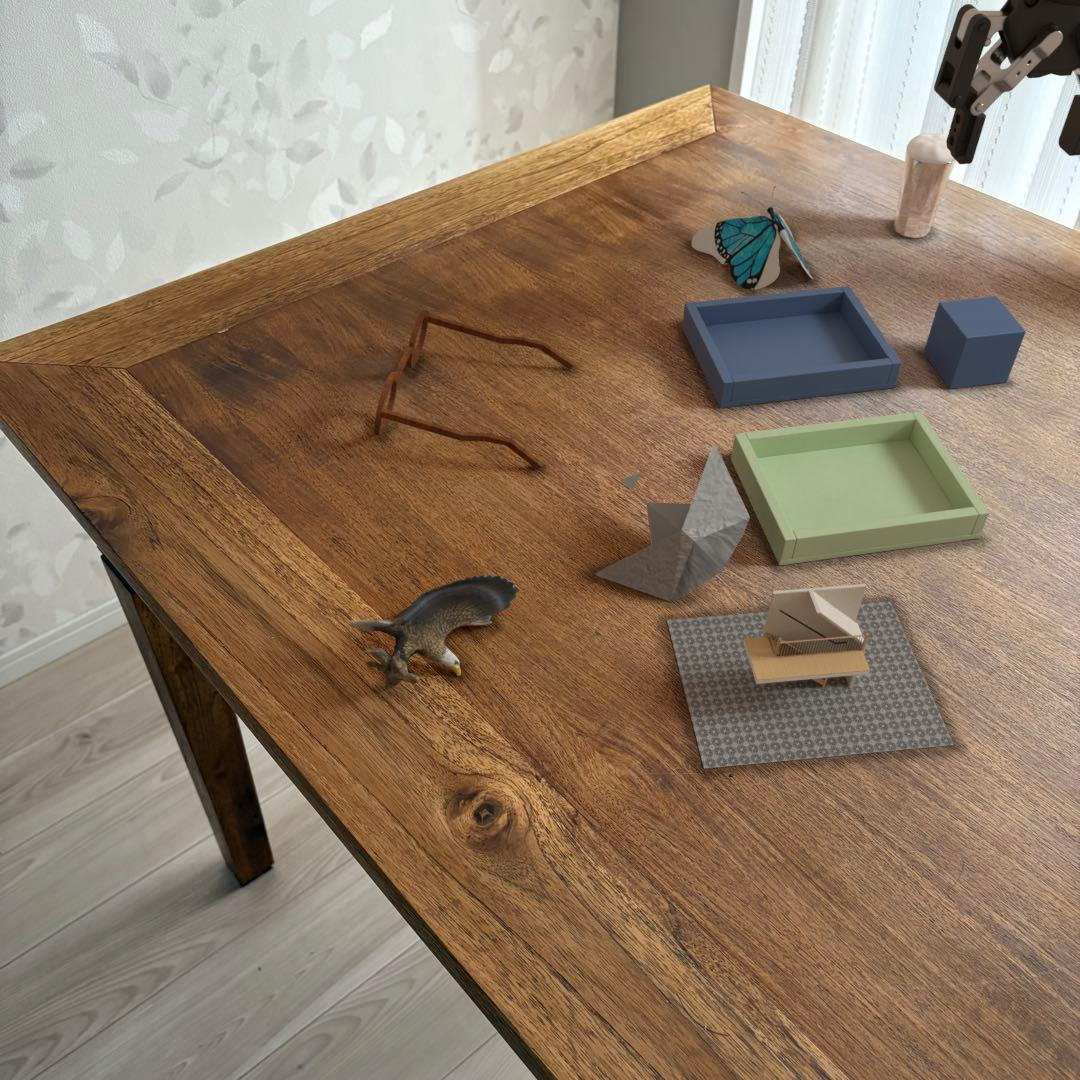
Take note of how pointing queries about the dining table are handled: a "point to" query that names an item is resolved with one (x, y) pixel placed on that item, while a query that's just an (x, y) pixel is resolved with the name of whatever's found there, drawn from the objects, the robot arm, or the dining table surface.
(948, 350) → the block
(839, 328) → the blue tray
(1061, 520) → the dining table surface
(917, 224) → the milkshake
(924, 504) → the green tray
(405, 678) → the eagle figurine
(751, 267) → the decorative butterfly
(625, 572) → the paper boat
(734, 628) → the architectural model
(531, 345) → the glasses
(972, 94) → the robot arm
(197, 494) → the dining table surface
